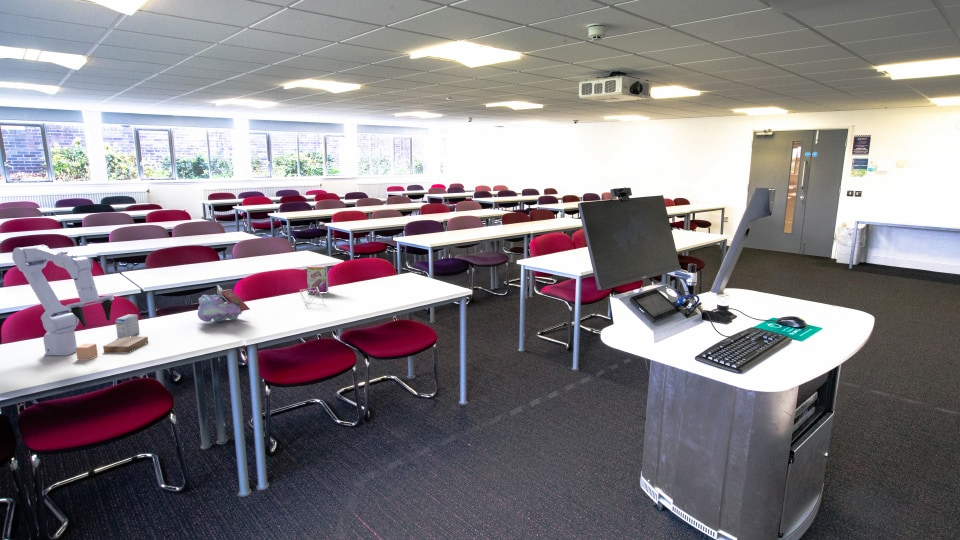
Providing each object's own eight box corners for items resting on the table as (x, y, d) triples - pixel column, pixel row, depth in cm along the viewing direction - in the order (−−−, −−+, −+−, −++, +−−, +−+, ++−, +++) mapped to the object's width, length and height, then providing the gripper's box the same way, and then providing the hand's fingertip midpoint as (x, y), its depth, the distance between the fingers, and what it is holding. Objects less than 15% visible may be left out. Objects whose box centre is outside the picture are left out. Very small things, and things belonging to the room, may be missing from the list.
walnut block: (104, 353, 202) (103, 346, 202) (124, 343, 214) (123, 336, 213) (129, 353, 202) (128, 346, 202) (148, 343, 214) (147, 336, 213)
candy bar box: (307, 294, 299) (305, 267, 296) (309, 292, 304) (308, 265, 301) (326, 294, 300) (325, 267, 297) (328, 292, 305) (327, 265, 302)
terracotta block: (77, 360, 194) (75, 347, 193) (86, 355, 198) (84, 343, 197) (89, 360, 194) (87, 347, 193) (97, 355, 198) (96, 343, 197)
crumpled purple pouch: (196, 320, 246) (193, 284, 243) (244, 313, 258) (242, 279, 254) (200, 331, 230) (197, 292, 226) (252, 323, 241) (249, 287, 238)
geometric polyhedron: (324, 302, 283) (323, 286, 281) (325, 306, 273) (324, 290, 271) (300, 303, 279) (299, 287, 277) (300, 308, 269) (299, 292, 267)
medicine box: (130, 332, 227) (127, 314, 225) (140, 332, 226) (137, 314, 225) (117, 338, 219) (114, 319, 217) (127, 338, 219) (124, 319, 217)
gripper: (59, 294, 185) (70, 329, 187) (106, 284, 191) (116, 319, 193) (66, 292, 192) (77, 327, 194) (111, 283, 197) (121, 316, 199)
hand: (97, 323), depth 194 cm, fingers open, 7 cm apart
